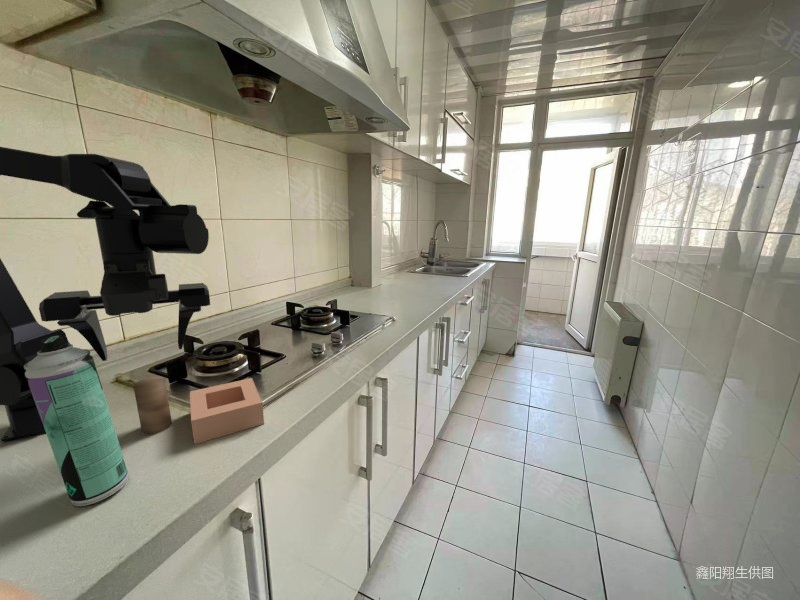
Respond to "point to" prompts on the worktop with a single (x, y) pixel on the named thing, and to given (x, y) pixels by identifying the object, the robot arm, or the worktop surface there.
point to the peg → (152, 405)
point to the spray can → (76, 421)
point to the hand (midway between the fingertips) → (144, 353)
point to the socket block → (225, 409)
